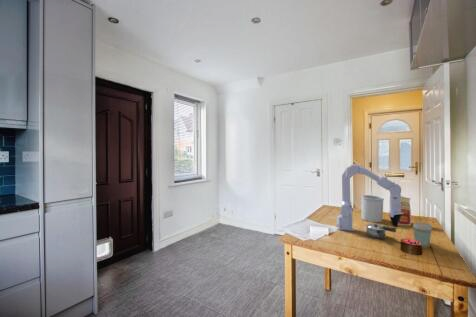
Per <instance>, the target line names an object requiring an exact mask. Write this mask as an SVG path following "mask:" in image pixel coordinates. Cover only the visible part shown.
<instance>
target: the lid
mask: <svg viewBox="0 0 476 317" xmlns="http://www.w3.org/2000/svg"><path fill="white" fill-rule="evenodd" d="M365 228H366V229H367V228H369V229H372V230H378V231H383V230H385V232H386V231H387V232H390V233H391V232H392V233H396V232H397V227H393V226H387V225H382V224H378V223H366V224H365Z"/></svg>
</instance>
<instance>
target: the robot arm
mask: <svg viewBox="0 0 476 317" xmlns="http://www.w3.org/2000/svg"><path fill="white" fill-rule="evenodd" d="M357 174H358V175H365V176H366V177H368V178H370V179H372V180H374V181H375V182H376V184H377V185H378V186H380V187H381V188H383V189H384V190H386V191H389V211H388V213H389V214H388V217H389V219H390V221H391V225H392V226H391V227H392V228H398V226H399V225H398V223H399V220H400V218H401V215H399V214H403V212H401V196H402V194H401V193H402V186H400V185H399V184H398V183H396V182H395V181H391V180H390V179H388V177H387V176H385V177H384V176H379V175H377V174H375V173H373V172H372V171H371V170H369V169H367V168H366V167H364V166H362V165H359V164H358V163H354V164H351V165H349V166H347V167H346V168H345V170H344V172H343V173H342V175H341V189H342V190H341V191H342V192H341V193H342V194H341V195H342V196H341V197H342V202H341V208H340V210H339V211H340V214H339V215H337V216H336V227H337V229H338V230H339V231H353V232H354V231H355V228H353V214H352V213H353V211H354V209H353V205H352V201H351V178H352V177H353V176H355V175H357Z"/></svg>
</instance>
